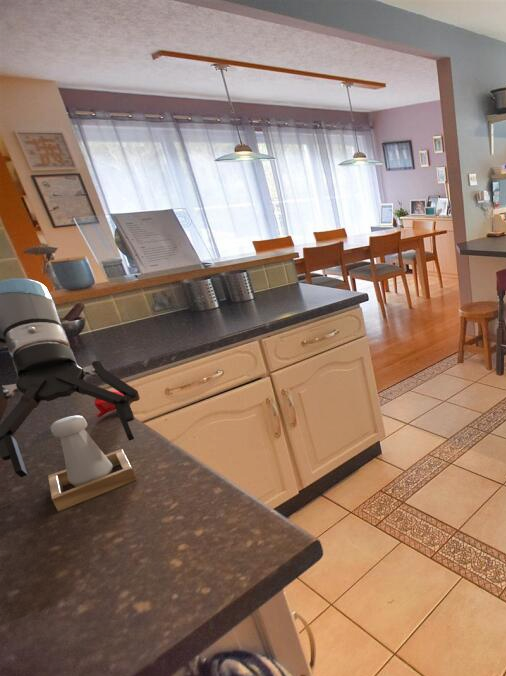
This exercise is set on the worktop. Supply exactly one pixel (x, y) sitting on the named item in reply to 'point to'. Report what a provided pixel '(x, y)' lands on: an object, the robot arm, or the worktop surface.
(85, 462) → the salt shaker
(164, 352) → the worktop surface
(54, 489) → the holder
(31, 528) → the worktop surface
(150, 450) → the worktop surface
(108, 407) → the cap
